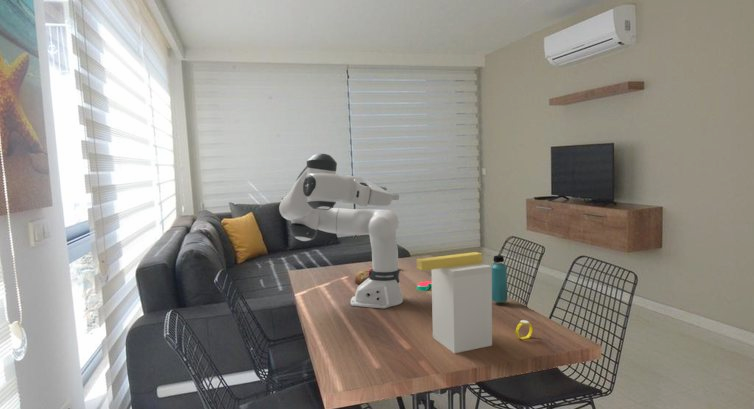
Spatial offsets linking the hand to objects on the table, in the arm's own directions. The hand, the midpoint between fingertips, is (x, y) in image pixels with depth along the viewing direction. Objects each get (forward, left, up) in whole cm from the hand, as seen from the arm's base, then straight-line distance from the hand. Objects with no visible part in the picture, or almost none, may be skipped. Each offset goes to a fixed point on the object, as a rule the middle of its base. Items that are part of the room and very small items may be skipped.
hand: (391, 193), depth 151 cm
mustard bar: (+19, -6, -23) cm, 31 cm away
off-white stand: (+22, -4, -49) cm, 54 cm away
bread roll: (-23, +66, -50) cm, 85 cm away
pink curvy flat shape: (+12, +61, -50) cm, 80 cm away
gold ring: (+43, 0, -49) cm, 66 cm away
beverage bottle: (+39, +36, -49) cm, 72 cm away
